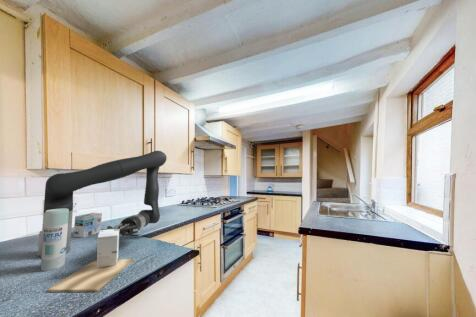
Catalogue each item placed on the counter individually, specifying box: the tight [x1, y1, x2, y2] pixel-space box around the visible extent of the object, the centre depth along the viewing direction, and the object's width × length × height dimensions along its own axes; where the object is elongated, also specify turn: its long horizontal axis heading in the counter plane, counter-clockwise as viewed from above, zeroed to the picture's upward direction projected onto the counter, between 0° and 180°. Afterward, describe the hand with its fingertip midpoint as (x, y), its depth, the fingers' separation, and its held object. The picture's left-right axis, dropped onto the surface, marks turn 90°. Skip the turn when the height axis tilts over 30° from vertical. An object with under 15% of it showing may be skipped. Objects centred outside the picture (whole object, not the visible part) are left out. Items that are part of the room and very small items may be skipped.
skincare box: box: [96, 229, 120, 267], centre depth 70 cm, size 6×4×12 cm
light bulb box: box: [73, 212, 103, 238], centre depth 108 cm, size 11×7×11 cm, turn 168°
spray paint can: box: [40, 208, 69, 272], centre depth 71 cm, size 6×6×20 cm
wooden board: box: [46, 258, 135, 293], centre depth 66 cm, size 14×20×1 cm
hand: (108, 236), depth 71 cm, fingers closed
